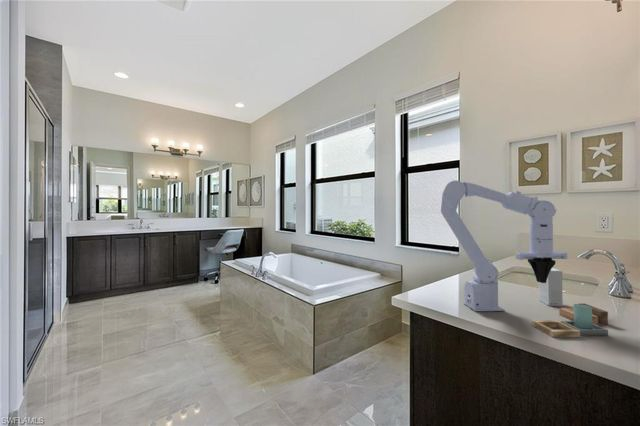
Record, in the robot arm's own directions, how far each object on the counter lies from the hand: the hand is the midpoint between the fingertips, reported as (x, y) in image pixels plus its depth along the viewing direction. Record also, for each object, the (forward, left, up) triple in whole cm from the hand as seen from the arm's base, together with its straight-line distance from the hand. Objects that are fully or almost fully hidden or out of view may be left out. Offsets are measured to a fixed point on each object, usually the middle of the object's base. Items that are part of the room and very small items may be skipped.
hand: (541, 282), depth 87 cm
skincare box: (+10, +9, -10) cm, 17 cm away
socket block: (-6, -13, -10) cm, 17 cm away
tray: (+1, -13, -10) cm, 16 cm away
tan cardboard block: (+7, -5, -10) cm, 13 cm away
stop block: (+11, -5, -10) cm, 16 cm away
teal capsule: (+1, -13, -9) cm, 16 cm away
